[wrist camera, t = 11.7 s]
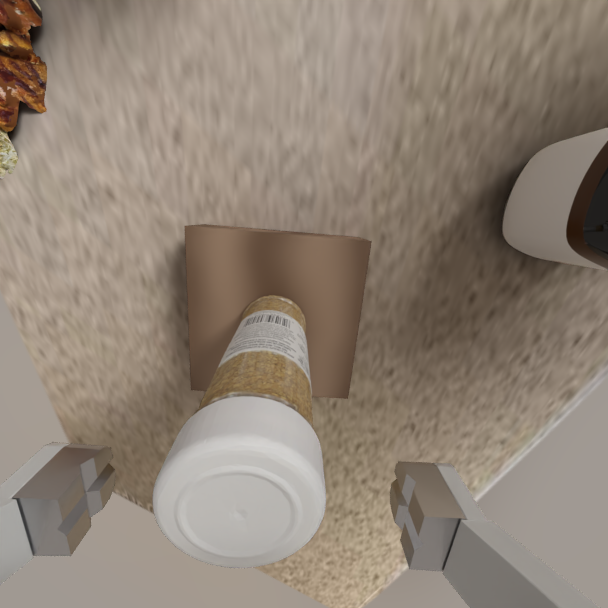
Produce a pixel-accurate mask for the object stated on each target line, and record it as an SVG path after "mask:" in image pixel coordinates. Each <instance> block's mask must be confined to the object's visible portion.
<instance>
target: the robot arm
mask: <svg viewBox="0 0 608 608" xmlns="http://www.w3.org/2000/svg"><path fill="white" fill-rule="evenodd" d="M112 458H113V454H112V450H111V447H107V446H98V445H86V444H73V443H71V444H69V443H56V442H52V443H50V444H47V445H45V446H44V447H43V448H41V449H40V450H39V451H38V452H37V453H36V454H35V455H34V456H33V457H31V458H30V459H29V460H28V461H27V462H26V463H25V464H24V465H22V466H21V467H20V468H19V469H18V470H17V471H16V472H15V473H14V474H13V475H11V476H10V477H9V478H8V479H7V480H6V481H4V482H3V483H2V484H1V485H0V584H2V583H3V582H4V581H6V580H7V579H8V578H9V577H10V576H12V575H13V574H14V573H15V572H17V571H18V570H19V569H20V568H22V567H23V566H24V565H25V564H27V563H28V562H29V561H30V560H32V559H33V556H71V555H72V554H73V552H74V551H75V549H76V548H77V546H78V545H79V543H80V542H81V540H82V539H83V537H84V536H85V535H86V533H87V531H88V530H89V528H90V527H91V517H92V516H93V515H95V514H96V513H98V512H99V511H100V510H102V509H103V508H104V506H105V505H106V503H107V501H108V500H109V499H110V496H111V494H112V491H113V489H114V486H115V480H116V473H115V469H114V468H113V467H112V466H111V465H110V464H109V462H110V460H111V459H112ZM394 472H395V475H396V478H397V479H396V480H395V481H394V482H393V483H392V484H391V490H390V505H391V510H392V514H393V518H394V521H395V523H396V524H397V525H398V526H399V527H400V528H401V529H402V530H403V531H402V535H401V539H400V541H401V544H402V547H403V550H404V553H405V556H406V560H407V563H408V566H409V569H416V570H428V571H442V572H443V575H444V576H445V577H446V578H447V580H448V581H449V582H450V583H451V585H452V586H453V587H454V588H455V590H456V591H457V592H458V594H459V595H460V596H461V597H462V599H463V600H464V601H465V602H466V603H467V605H468V606H469V607H470V608H601V607H599V606H598V605H597V604H596V603H594V602H593V601H592V600H591V599H589V598H588V597H587V596H586V595H584V594H583V593H582V592H581V591H580V590H578V589H577V588H576V587H575V586H573V585H572V584H571V583H570V582H568V581H567V580H566V579H564V578H563V577H562V576H561V575H560V574H558V573H557V572H556V571H555V570H553V569H552V568H551V567H549V566H548V565H547V564H546V563H544V562H543V561H542V560H541V559H540V558H538V557H537V556H536V555H535V554H534V553H532V552H531V551H530V550H528V549H527V548H526V547H525V546H524V545H522V544H521V543H520V542H519V541H517V540H516V539H515V538H514V537H512V536H511V535H510V534H509V533H507V532H506V531H505V530H503V529H502V528H501V527H500V526H499V525H497V524H496V523H495V522H493V521H487V519H486V518H485V516H484V514H483V513H482V511H481V509H480V508H479V506H478V505H477V503H476V501H475V500H474V498H473V496H472V495H471V493H470V492H469V490H468V488H467V487H466V485H465V484H464V482H463V480H462V479H461V477H460V476H459V474H458V472H457V471H456V469H455V468H454V466H452V465H451V464H449V463H427V462H402V461H398V463H397V464H396V467H395V471H394Z"/></svg>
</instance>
